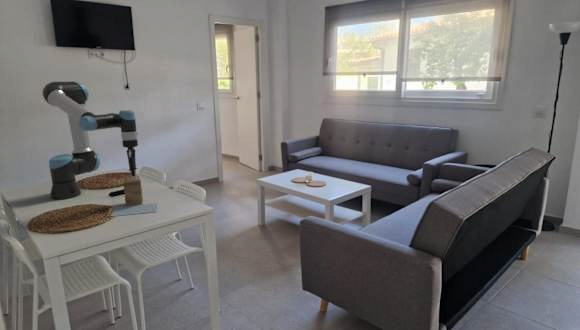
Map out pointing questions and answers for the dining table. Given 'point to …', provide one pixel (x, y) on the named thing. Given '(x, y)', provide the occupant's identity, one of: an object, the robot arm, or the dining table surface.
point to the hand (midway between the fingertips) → (134, 181)
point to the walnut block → (133, 192)
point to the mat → (134, 209)
